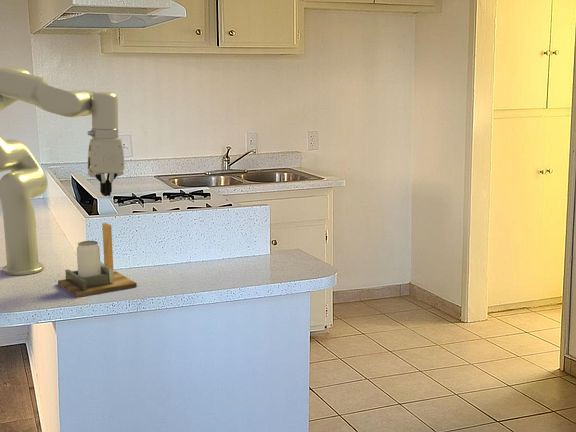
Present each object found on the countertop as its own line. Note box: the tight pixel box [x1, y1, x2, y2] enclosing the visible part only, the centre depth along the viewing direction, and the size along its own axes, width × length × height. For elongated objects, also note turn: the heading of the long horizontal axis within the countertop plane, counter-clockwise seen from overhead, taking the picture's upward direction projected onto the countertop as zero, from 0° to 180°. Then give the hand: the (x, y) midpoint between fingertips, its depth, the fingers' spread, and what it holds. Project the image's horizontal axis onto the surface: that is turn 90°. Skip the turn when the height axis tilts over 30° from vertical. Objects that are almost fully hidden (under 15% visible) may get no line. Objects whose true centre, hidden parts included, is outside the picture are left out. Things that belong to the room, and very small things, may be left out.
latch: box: [100, 222, 114, 283], centre depth 230 cm, size 10×2×16 cm, turn 34°
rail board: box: [57, 270, 138, 298], centre depth 230 cm, size 16×18×1 cm
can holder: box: [64, 269, 109, 292], centre depth 228 cm, size 15×9×3 cm, turn 34°
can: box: [76, 240, 101, 278], centre depth 228 cm, size 6×6×12 cm
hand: (106, 195), depth 235 cm, fingers closed
